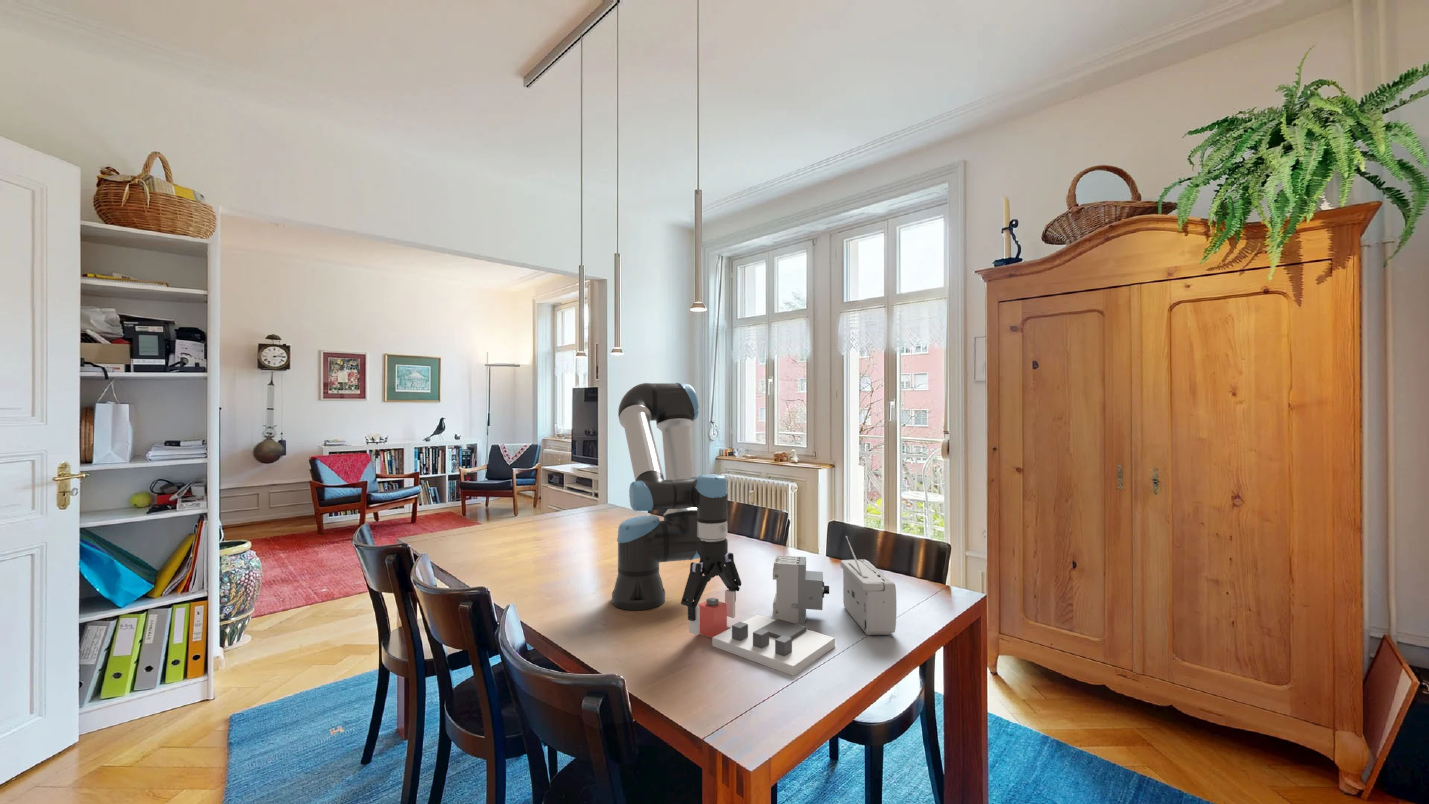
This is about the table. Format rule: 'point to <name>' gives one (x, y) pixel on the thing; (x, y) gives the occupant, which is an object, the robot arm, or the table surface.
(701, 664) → the table surface
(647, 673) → the table surface
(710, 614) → the cap
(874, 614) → the stereo radio cassette player
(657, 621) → the table surface
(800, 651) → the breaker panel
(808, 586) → the circuit breaker
